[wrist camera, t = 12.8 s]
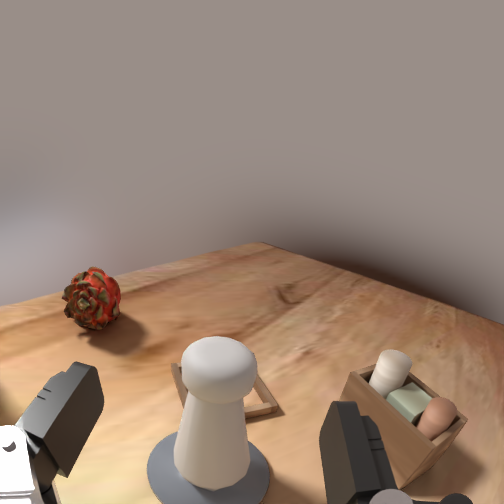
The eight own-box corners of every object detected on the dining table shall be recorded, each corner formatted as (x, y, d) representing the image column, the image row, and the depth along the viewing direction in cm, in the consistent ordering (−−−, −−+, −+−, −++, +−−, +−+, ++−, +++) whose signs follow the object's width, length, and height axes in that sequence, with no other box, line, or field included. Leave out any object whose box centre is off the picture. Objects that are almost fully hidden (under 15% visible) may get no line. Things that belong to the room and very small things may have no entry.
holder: (243, 361, 37) (244, 355, 36) (276, 411, 29) (278, 405, 28) (171, 370, 33) (171, 363, 33) (190, 427, 25) (190, 421, 25)
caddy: (370, 406, 30) (399, 340, 27) (432, 466, 21) (480, 400, 18) (329, 422, 28) (357, 353, 25) (393, 494, 18) (446, 430, 15)
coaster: (241, 423, 27) (242, 419, 27) (288, 503, 18) (290, 500, 18) (138, 437, 23) (138, 433, 22) (163, 532, 14) (163, 530, 14)
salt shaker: (247, 450, 23) (273, 330, 19) (245, 503, 17) (277, 391, 14) (181, 440, 23) (180, 317, 19) (168, 492, 17) (154, 373, 13)
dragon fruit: (96, 357, 34) (88, 322, 44) (143, 316, 37) (126, 289, 47) (50, 310, 30) (54, 283, 40) (100, 265, 33) (93, 248, 43)
